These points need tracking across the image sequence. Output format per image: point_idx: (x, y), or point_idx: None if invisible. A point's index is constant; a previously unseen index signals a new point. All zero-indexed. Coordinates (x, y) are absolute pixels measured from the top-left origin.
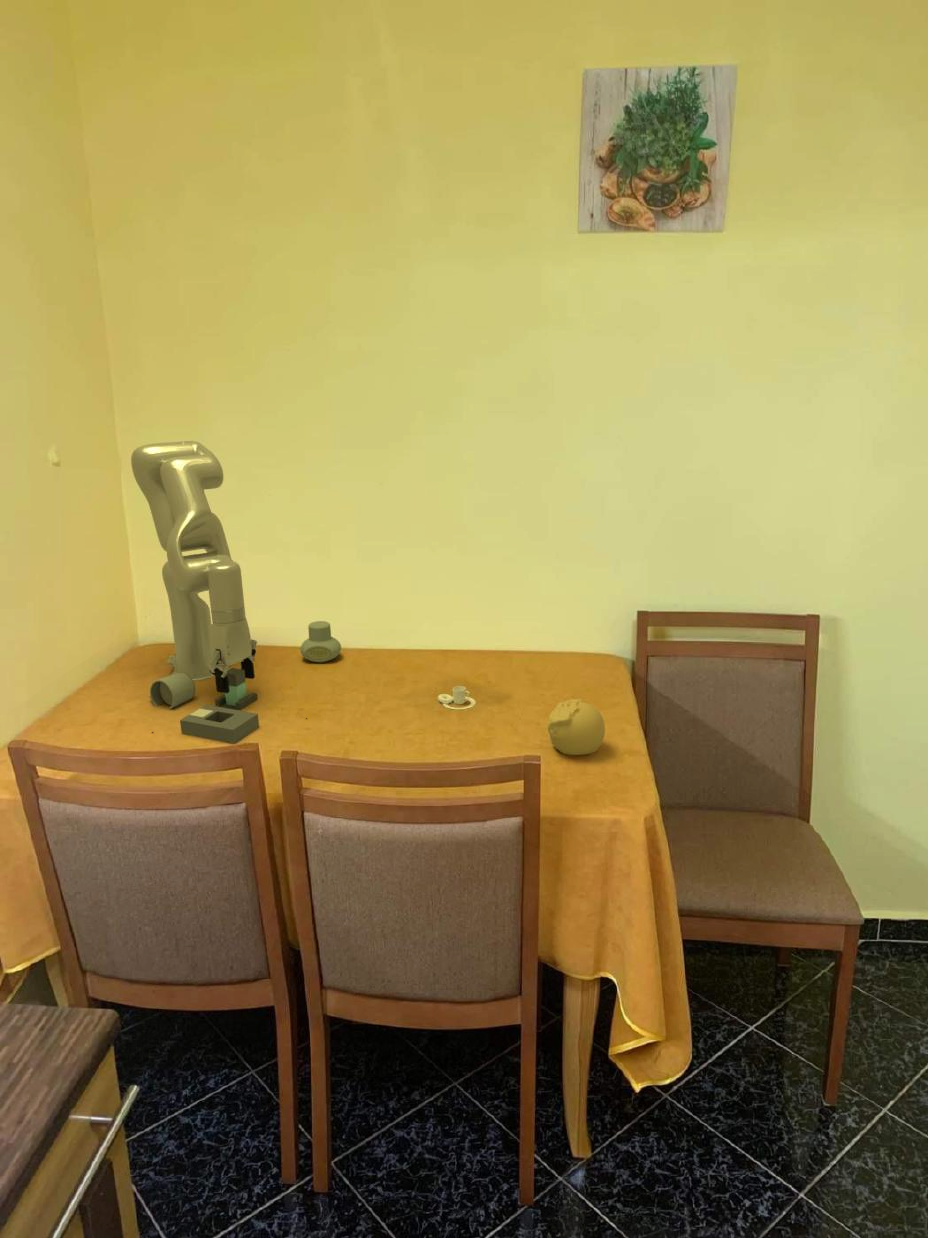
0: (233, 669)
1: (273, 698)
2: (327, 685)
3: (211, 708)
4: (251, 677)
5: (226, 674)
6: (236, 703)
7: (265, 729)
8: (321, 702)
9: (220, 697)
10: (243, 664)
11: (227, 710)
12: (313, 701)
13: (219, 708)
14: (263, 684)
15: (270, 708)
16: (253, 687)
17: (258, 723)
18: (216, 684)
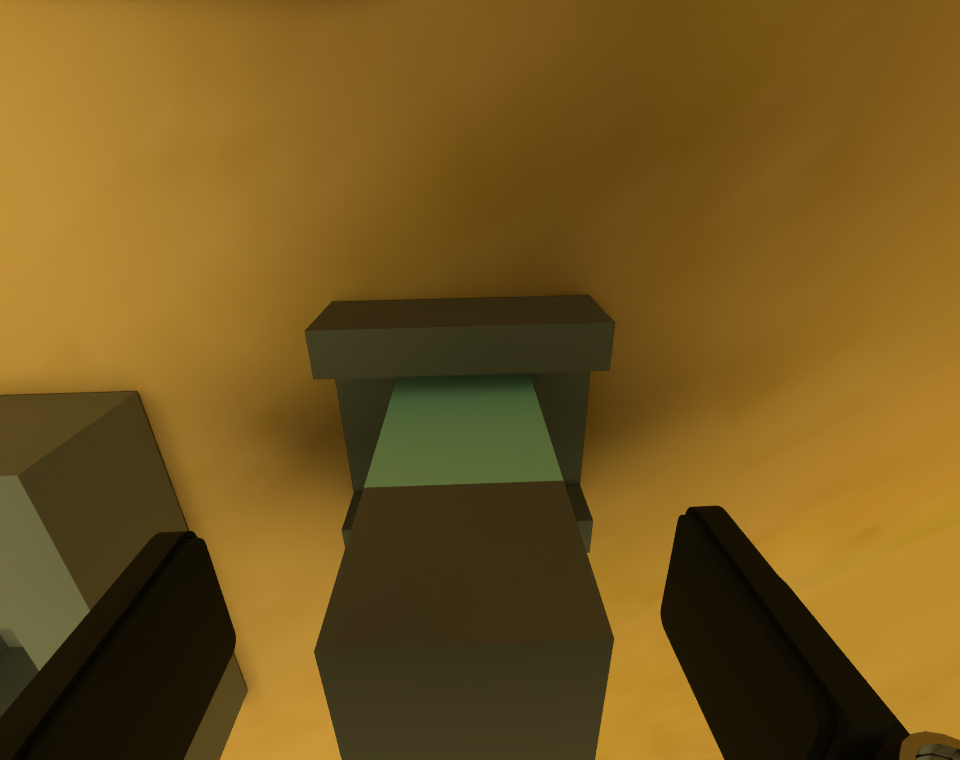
0: (541, 695)
1: (664, 538)
2: (906, 666)
3: (3, 564)
4: (667, 622)
5: (330, 684)
6: (345, 538)
7: (274, 702)
8: (668, 733)
9: (380, 344)
10: (792, 723)
11: None
12: (672, 706)
13: (59, 614)
14: (929, 334)
15: None
16: (856, 297)
17: (226, 736)
18: (94, 615)
